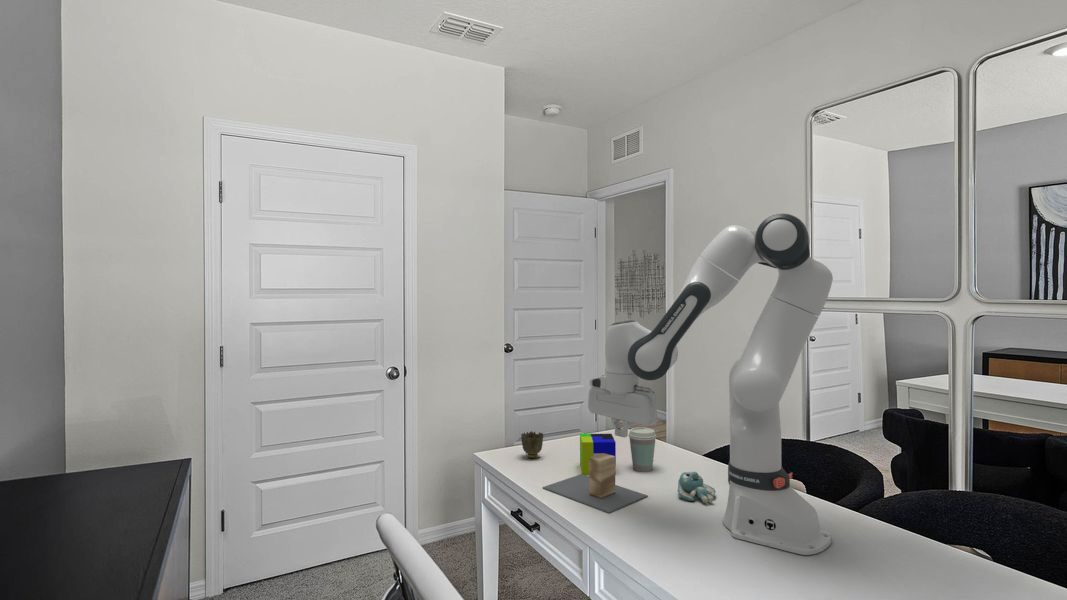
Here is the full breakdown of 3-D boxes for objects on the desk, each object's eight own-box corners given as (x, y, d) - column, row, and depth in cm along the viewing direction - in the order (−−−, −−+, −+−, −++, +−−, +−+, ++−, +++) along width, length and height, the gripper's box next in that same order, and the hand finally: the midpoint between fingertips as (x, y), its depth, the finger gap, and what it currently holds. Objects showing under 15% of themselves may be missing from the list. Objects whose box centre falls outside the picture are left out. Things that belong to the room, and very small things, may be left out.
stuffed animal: (692, 488, 136) (668, 464, 148) (689, 513, 138) (665, 488, 149) (729, 483, 139) (702, 461, 151) (726, 508, 141) (700, 484, 152)
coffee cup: (655, 464, 172) (654, 427, 172) (658, 473, 163) (658, 433, 163) (627, 464, 173) (627, 426, 172) (629, 473, 164) (629, 433, 164)
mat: (647, 496, 145) (648, 495, 145) (609, 513, 134) (609, 512, 134) (581, 475, 162) (581, 473, 162) (542, 488, 152) (542, 487, 152)
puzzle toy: (615, 475, 162) (615, 442, 162) (582, 475, 162) (582, 442, 162) (611, 465, 172) (611, 433, 172) (580, 465, 172) (579, 433, 172)
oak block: (615, 493, 147) (615, 456, 146) (600, 499, 142) (600, 461, 142) (604, 489, 149) (603, 453, 149) (589, 494, 145) (589, 457, 145)
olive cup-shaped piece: (547, 456, 181) (547, 432, 181) (536, 462, 175) (535, 437, 175) (529, 453, 185) (528, 430, 185) (517, 459, 179) (516, 434, 179)
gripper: (663, 387, 135) (662, 442, 135) (600, 376, 150) (599, 426, 150) (647, 390, 131) (646, 447, 131) (584, 379, 146) (584, 430, 146)
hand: (621, 436), depth 141 cm, fingers closed
